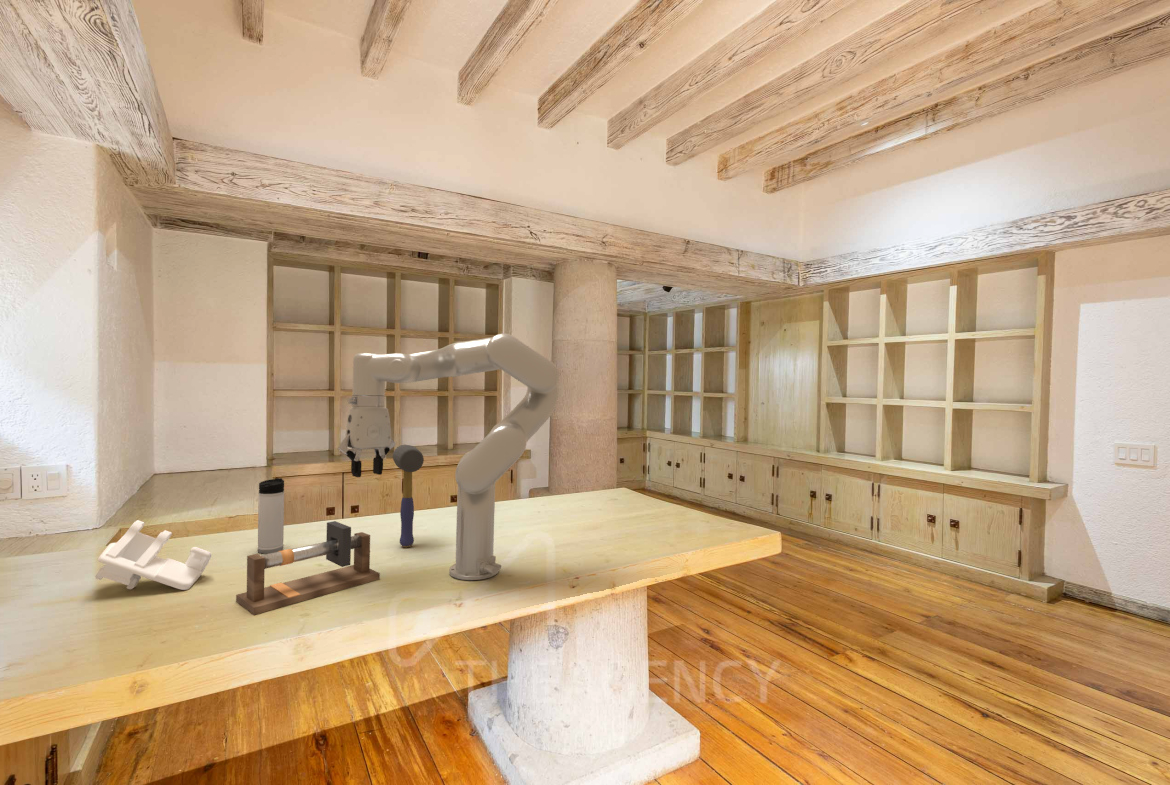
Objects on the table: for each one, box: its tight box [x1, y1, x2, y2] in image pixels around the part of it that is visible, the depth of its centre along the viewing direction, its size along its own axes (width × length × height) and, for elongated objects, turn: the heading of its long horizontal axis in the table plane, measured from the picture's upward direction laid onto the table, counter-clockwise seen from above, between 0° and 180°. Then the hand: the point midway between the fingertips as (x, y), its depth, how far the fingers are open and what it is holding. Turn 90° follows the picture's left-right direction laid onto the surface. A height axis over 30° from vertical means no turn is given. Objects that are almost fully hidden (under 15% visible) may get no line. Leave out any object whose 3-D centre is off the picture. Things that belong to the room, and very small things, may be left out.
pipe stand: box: [235, 531, 381, 616], centre depth 125 cm, size 28×10×11 cm, turn 141°
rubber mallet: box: [392, 444, 425, 548], centre depth 159 cm, size 12×8×30 cm, turn 29°
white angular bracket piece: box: [94, 519, 212, 591], centre depth 125 cm, size 20×11×13 cm, turn 111°
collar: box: [325, 520, 352, 568], centre depth 130 cm, size 2×8×9 cm, turn 51°
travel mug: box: [257, 477, 285, 555], centre depth 152 cm, size 6×7×20 cm
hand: (367, 474), depth 135 cm, fingers open, 4 cm apart
